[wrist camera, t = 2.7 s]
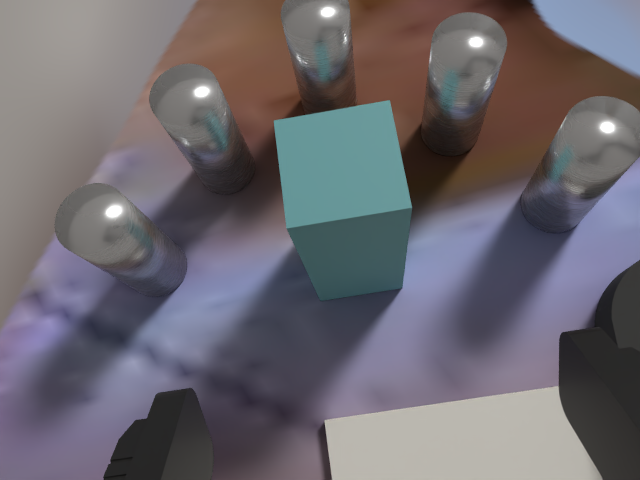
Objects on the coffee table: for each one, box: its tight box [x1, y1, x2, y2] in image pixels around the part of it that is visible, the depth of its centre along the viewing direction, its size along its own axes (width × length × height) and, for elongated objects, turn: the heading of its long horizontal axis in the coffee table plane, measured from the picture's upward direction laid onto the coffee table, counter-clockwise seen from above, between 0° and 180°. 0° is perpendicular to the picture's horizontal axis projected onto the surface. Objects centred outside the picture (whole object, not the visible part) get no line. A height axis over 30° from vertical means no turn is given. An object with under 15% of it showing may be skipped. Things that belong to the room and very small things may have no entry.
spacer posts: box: [55, 0, 640, 297], centre depth 26 cm, size 23×11×7 cm, turn 98°
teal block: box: [274, 100, 412, 301], centre depth 23 cm, size 4×4×10 cm
